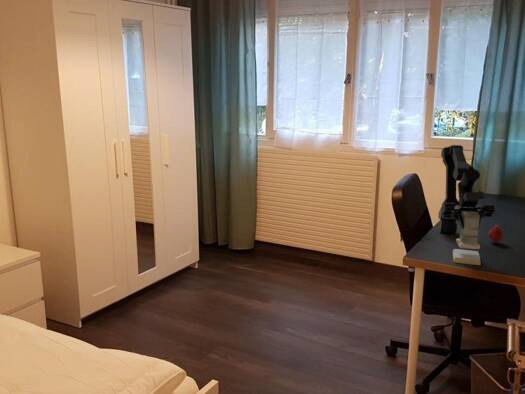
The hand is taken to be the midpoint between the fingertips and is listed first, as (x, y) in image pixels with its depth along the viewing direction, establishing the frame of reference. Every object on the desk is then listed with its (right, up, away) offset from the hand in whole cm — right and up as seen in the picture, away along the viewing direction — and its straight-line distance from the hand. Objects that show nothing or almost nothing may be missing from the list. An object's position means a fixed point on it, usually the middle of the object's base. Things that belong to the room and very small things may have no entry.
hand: (470, 228), depth 187 cm
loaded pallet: (0, -7, +3) cm, 7 cm away
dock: (0, -12, +4) cm, 13 cm away
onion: (+20, -8, +23) cm, 32 cm away
